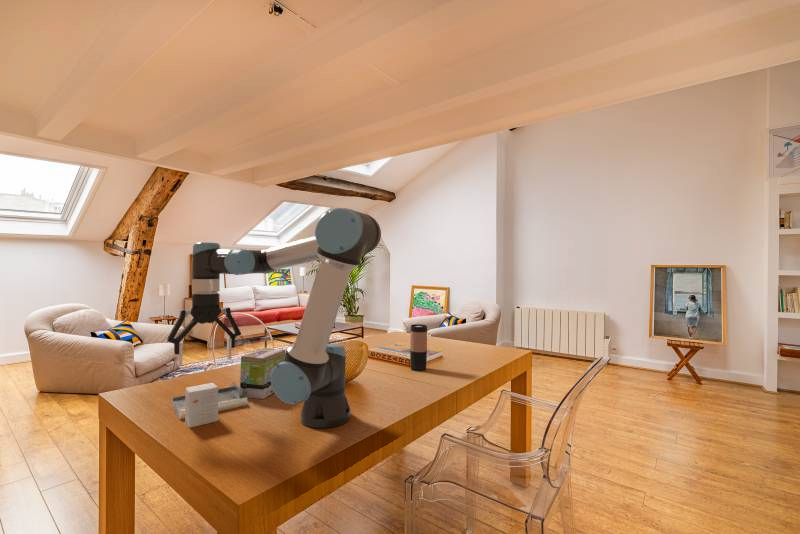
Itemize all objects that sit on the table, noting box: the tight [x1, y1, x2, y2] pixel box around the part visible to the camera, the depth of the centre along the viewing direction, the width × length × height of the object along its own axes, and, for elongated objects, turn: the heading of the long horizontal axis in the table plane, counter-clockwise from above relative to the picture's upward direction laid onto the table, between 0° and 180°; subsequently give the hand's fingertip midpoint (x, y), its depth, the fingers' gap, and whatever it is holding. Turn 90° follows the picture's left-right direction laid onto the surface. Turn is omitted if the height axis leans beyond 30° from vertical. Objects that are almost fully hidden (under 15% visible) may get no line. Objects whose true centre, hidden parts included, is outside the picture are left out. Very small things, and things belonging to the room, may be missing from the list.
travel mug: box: [409, 323, 428, 372], centre depth 176 cm, size 8×8×20 cm
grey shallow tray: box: [171, 381, 248, 420], centre depth 129 cm, size 14×20×5 cm
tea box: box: [239, 347, 286, 400], centre depth 143 cm, size 15×10×15 cm, turn 168°
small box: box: [184, 382, 219, 429], centre depth 116 cm, size 8×6×10 cm
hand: (205, 361), depth 119 cm, fingers open, 13 cm apart
